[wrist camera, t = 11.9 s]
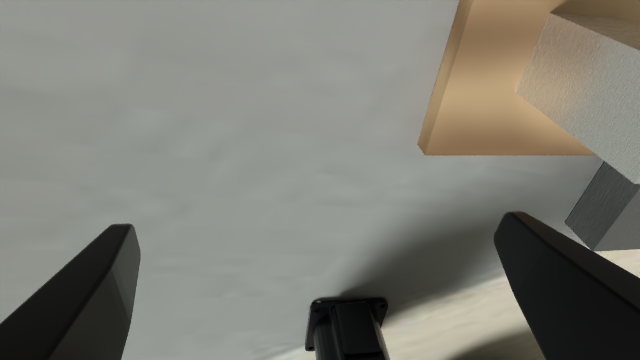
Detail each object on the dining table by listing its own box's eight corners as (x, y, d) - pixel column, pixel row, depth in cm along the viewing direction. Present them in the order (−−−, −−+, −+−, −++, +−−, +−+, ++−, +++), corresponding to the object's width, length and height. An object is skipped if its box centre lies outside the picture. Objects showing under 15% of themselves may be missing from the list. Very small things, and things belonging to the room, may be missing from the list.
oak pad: (589, 145, 25) (602, 155, 24) (417, 144, 23) (424, 155, 22) (720, -73, 18) (746, -70, 17) (490, -103, 16) (505, -103, 15)
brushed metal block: (579, 94, 21) (720, 182, 15) (515, 92, 21) (634, 184, 14) (620, 18, 19) (808, 85, 13) (549, 12, 18) (710, 80, 12)
